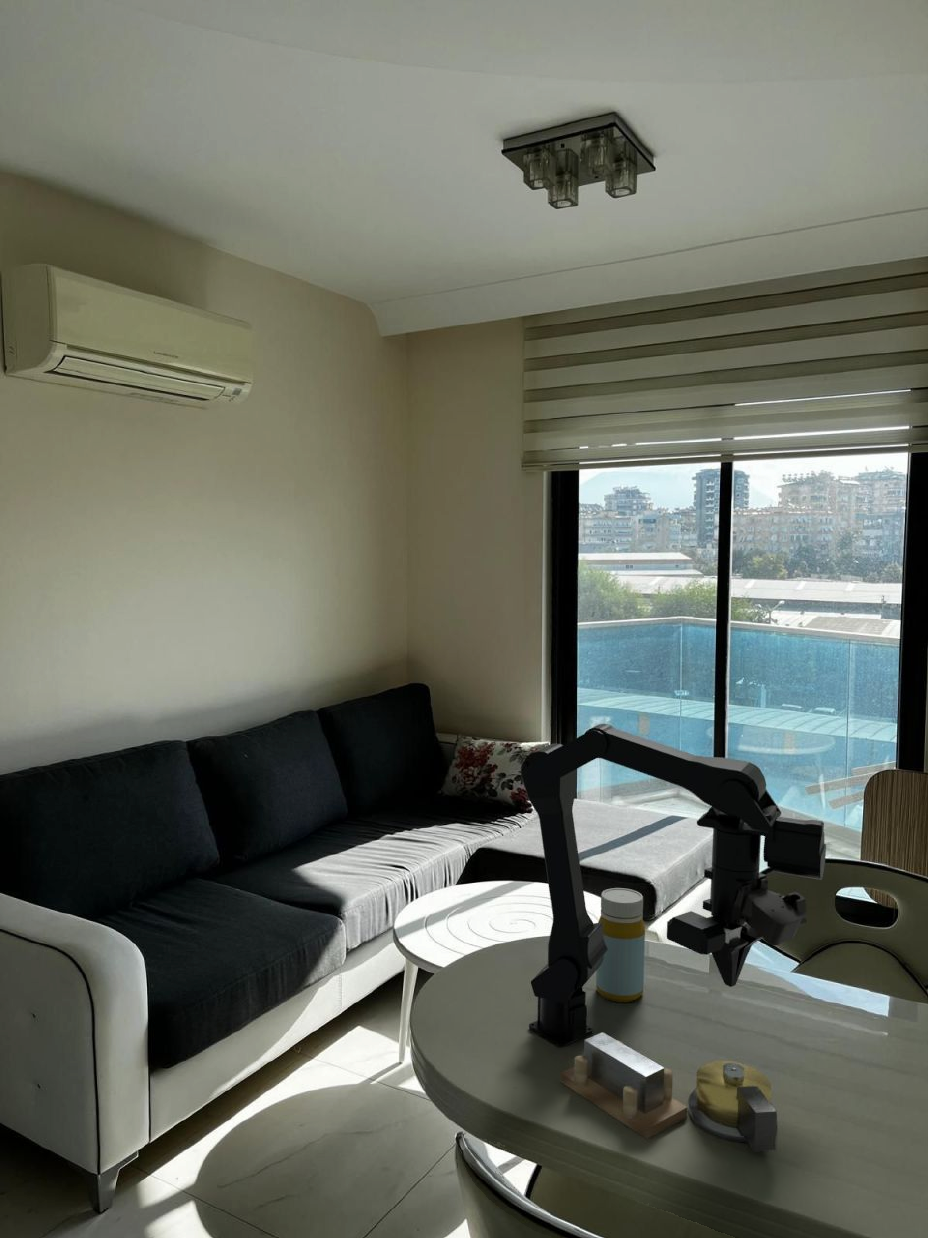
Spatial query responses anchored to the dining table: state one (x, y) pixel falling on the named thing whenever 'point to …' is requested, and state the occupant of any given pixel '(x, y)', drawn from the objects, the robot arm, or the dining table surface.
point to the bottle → (622, 945)
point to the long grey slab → (624, 1071)
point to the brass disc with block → (738, 1103)
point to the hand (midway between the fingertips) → (729, 985)
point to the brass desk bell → (723, 1131)
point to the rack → (626, 1101)
